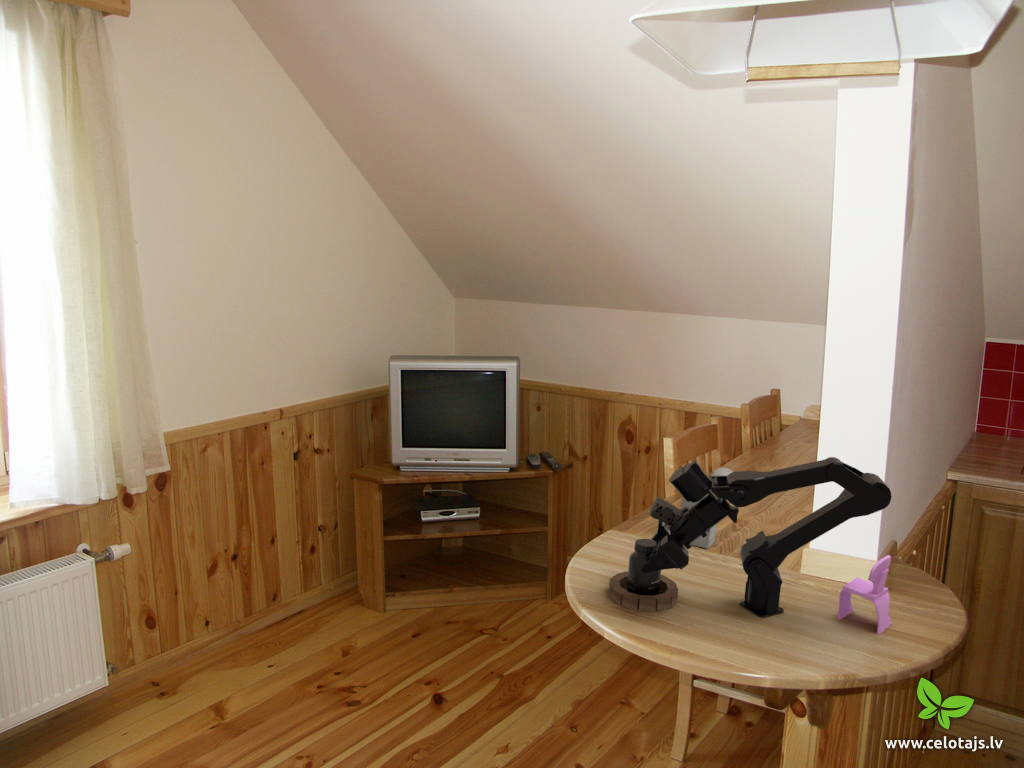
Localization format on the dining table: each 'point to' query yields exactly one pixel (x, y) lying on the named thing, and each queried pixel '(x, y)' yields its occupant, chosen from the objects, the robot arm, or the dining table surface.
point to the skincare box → (710, 537)
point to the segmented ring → (642, 601)
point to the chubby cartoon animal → (721, 472)
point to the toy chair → (870, 593)
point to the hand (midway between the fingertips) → (642, 562)
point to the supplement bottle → (636, 577)
